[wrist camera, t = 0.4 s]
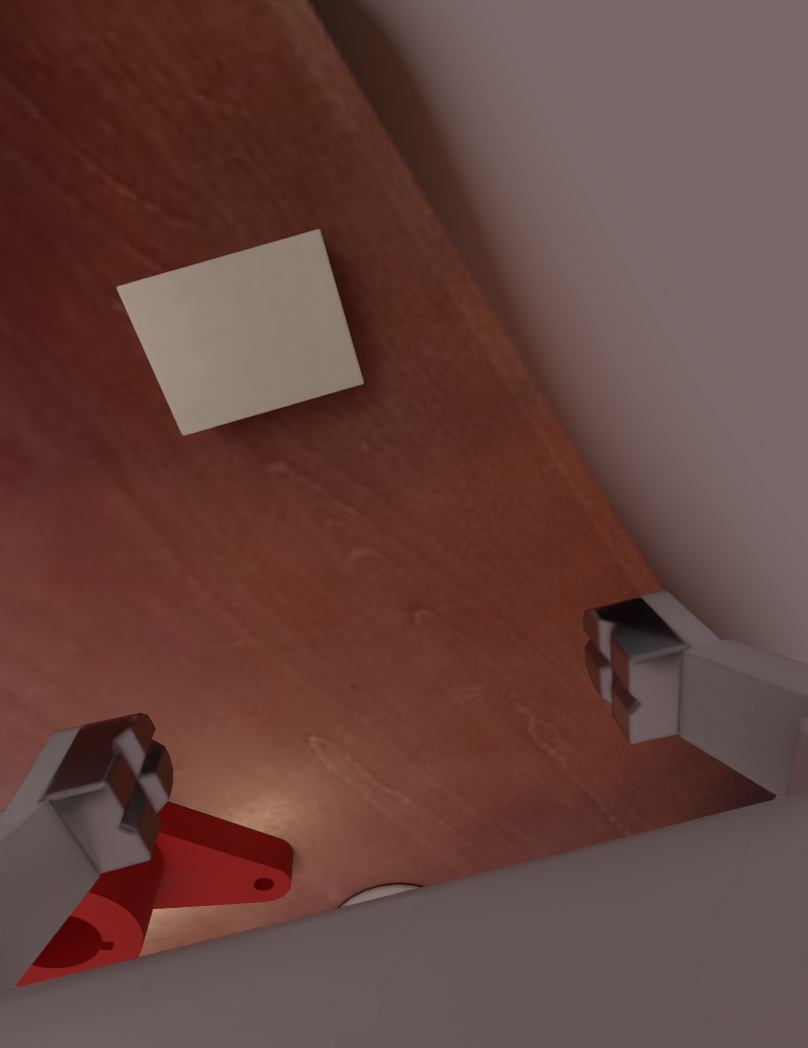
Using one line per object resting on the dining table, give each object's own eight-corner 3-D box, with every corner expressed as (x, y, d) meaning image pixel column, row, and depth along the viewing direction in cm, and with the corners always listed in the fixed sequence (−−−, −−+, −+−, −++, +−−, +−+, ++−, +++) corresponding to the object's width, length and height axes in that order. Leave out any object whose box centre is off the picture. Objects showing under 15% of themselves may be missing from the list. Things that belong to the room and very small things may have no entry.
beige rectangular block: (146, 285, 24) (115, 286, 21) (321, 235, 24) (319, 228, 21) (201, 415, 27) (182, 436, 23) (359, 369, 27) (364, 384, 23)
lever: (14, 872, 38) (-45, 985, 32) (29, 773, 34) (-34, 878, 28) (275, 898, 42) (266, 1002, 36) (310, 813, 39) (307, 911, 33)
